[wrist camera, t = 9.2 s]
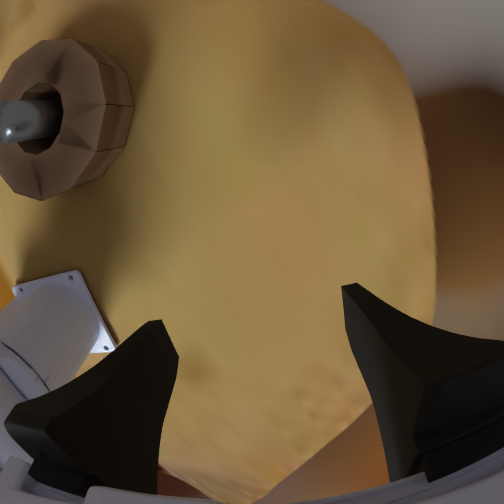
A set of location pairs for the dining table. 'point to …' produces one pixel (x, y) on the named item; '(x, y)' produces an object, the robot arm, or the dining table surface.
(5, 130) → the dark grey capsule
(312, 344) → the dining table surface
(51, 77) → the bead
